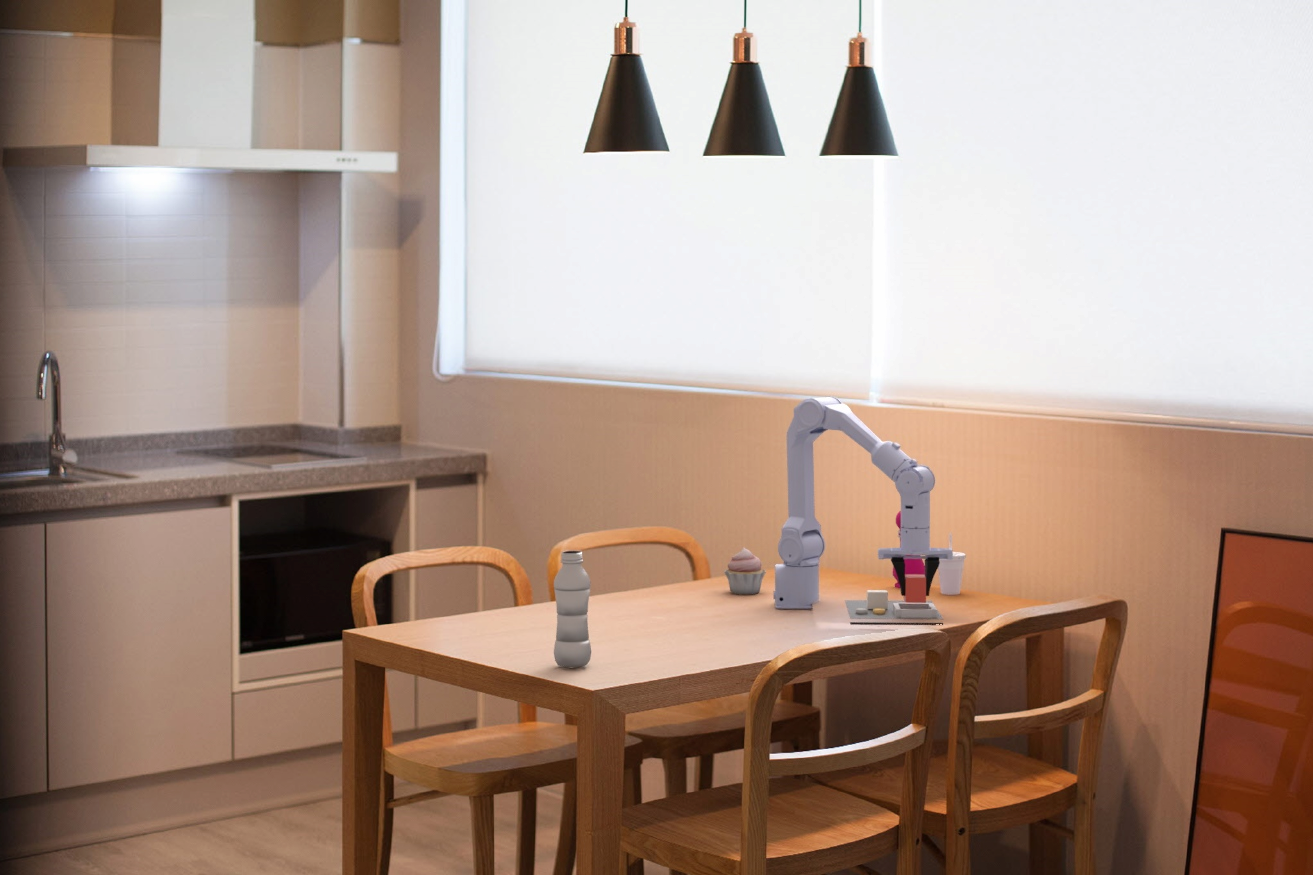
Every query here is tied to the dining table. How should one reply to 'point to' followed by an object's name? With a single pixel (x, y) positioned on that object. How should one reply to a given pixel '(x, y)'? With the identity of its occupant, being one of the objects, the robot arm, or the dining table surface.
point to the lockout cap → (915, 588)
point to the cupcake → (745, 573)
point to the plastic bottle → (572, 612)
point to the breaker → (877, 599)
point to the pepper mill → (910, 564)
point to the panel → (892, 612)
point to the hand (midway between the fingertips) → (914, 595)
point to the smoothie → (951, 572)
